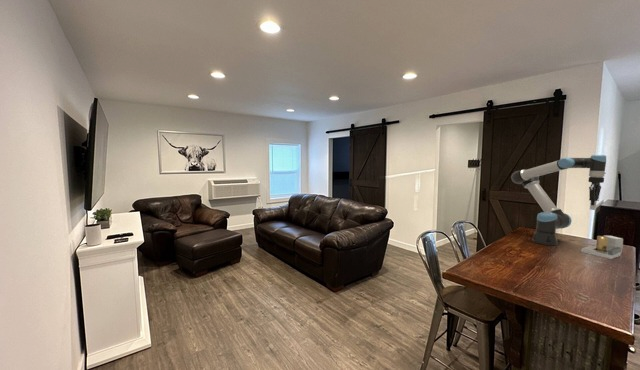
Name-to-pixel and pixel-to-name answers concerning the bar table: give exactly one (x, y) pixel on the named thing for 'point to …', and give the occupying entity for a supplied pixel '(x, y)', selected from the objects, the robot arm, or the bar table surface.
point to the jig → (608, 254)
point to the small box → (614, 242)
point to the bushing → (601, 243)
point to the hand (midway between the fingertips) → (592, 209)
